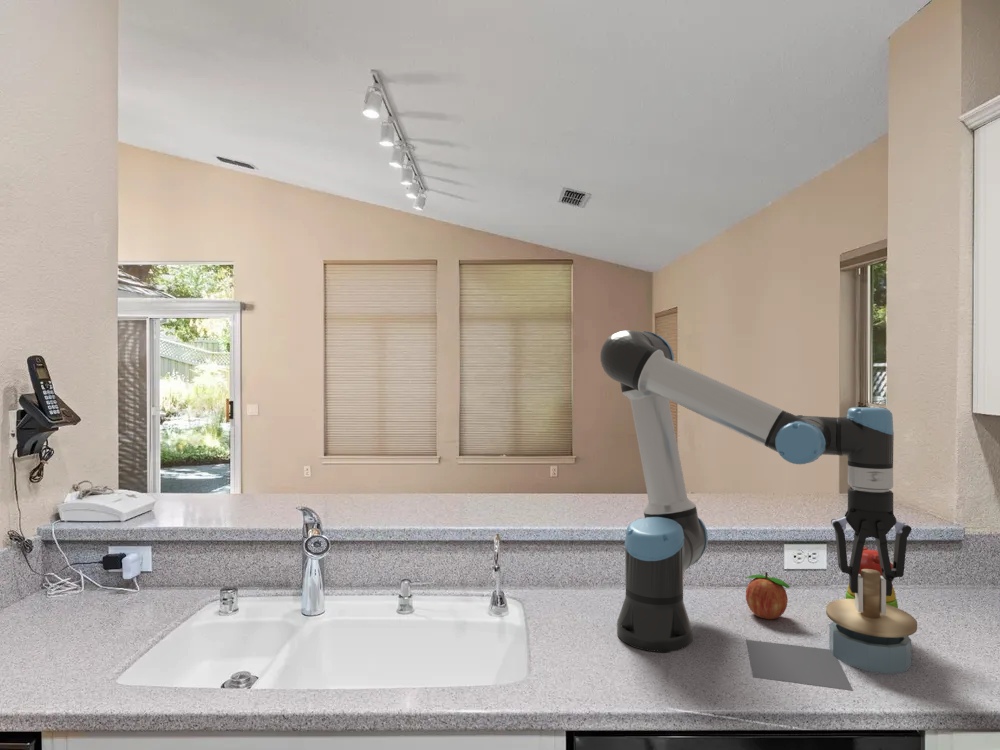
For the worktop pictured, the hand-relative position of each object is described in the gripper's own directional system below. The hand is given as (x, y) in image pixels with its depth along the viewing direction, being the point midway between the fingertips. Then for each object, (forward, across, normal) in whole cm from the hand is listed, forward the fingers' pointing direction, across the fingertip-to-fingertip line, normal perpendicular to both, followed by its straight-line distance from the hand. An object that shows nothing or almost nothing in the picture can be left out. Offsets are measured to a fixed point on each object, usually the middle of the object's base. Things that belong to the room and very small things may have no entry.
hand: (870, 610), depth 120 cm
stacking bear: (+9, +3, +12) cm, 15 cm away
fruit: (+9, -17, +16) cm, 25 cm away
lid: (+2, 0, 0) cm, 2 cm away
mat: (+9, -14, -7) cm, 18 cm away
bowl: (+9, 0, 0) cm, 9 cm away
